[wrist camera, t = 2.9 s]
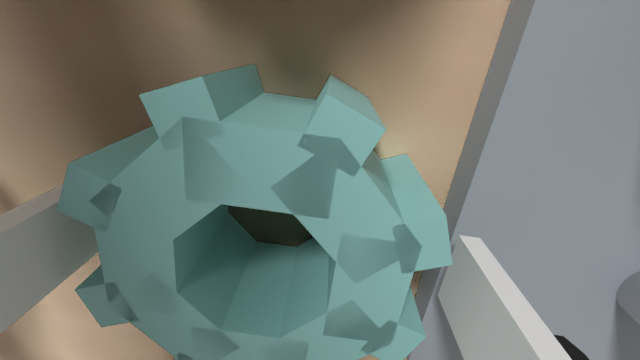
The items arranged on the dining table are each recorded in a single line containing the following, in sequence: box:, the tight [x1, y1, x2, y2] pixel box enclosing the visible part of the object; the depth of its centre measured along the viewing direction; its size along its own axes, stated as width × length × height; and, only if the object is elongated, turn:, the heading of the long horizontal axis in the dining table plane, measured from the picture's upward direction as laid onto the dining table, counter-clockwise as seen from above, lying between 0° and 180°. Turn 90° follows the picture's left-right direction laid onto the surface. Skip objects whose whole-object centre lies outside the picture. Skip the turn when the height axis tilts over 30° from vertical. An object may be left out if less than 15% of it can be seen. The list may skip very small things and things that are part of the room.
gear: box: [57, 64, 453, 360], centre depth 12 cm, size 11×11×5 cm
